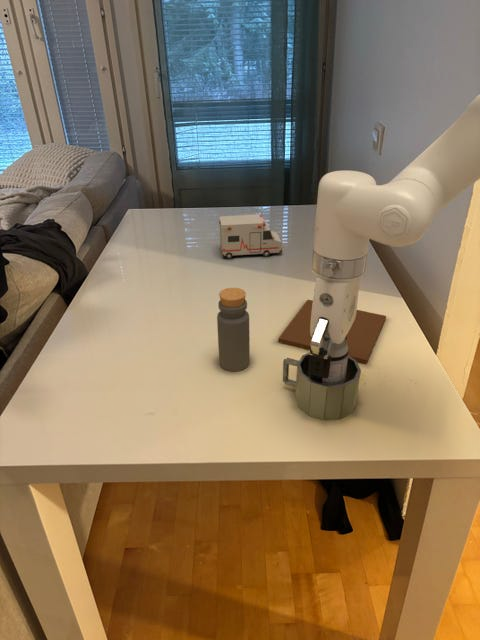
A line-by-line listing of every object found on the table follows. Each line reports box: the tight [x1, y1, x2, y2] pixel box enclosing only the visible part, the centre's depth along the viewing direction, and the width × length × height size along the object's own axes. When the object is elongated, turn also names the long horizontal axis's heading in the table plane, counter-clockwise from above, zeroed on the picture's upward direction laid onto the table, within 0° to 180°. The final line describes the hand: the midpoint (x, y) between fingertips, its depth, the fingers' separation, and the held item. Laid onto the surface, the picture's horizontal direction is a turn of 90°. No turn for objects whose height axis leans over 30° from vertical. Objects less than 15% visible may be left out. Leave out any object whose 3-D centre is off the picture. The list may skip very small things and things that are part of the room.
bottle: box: [216, 287, 251, 372], centre depth 86 cm, size 6×6×15 cm
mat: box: [278, 299, 387, 365], centre depth 98 cm, size 18×18×1 cm
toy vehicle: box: [218, 213, 283, 260], centre depth 133 cm, size 10×17×10 cm, turn 97°
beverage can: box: [310, 333, 349, 385], centre depth 77 cm, size 6×6×12 cm
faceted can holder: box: [282, 351, 362, 421], centre depth 79 cm, size 13×10×7 cm
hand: (327, 358), depth 76 cm, fingers open, 9 cm apart
